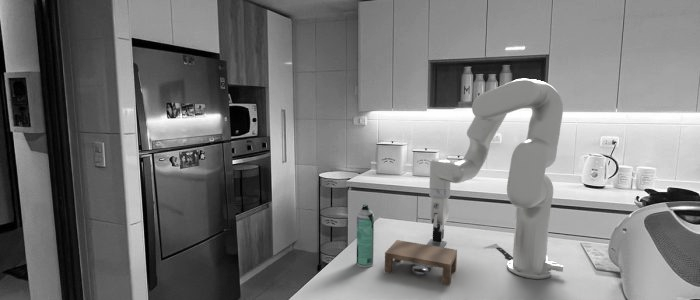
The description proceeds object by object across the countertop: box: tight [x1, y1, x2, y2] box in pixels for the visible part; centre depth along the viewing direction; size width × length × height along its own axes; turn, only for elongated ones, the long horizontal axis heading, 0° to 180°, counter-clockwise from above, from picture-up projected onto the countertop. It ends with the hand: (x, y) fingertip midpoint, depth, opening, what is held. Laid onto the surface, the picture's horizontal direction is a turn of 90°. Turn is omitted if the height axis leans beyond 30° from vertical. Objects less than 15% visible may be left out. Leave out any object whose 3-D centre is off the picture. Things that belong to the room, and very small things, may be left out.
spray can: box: [356, 204, 375, 268], centre depth 122 cm, size 6×6×20 cm
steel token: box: [411, 265, 429, 276], centre depth 118 cm, size 5×5×1 cm
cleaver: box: [483, 243, 513, 261], centre depth 141 cm, size 29×1×10 cm
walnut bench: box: [384, 239, 458, 286], centre depth 118 cm, size 20×12×6 cm, turn 65°
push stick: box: [411, 224, 447, 271], centre depth 131 cm, size 6×25×8 cm, turn 154°
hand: (438, 239), depth 141 cm, fingers closed on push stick, 3 cm apart
